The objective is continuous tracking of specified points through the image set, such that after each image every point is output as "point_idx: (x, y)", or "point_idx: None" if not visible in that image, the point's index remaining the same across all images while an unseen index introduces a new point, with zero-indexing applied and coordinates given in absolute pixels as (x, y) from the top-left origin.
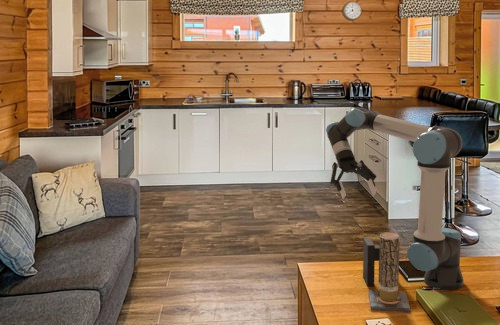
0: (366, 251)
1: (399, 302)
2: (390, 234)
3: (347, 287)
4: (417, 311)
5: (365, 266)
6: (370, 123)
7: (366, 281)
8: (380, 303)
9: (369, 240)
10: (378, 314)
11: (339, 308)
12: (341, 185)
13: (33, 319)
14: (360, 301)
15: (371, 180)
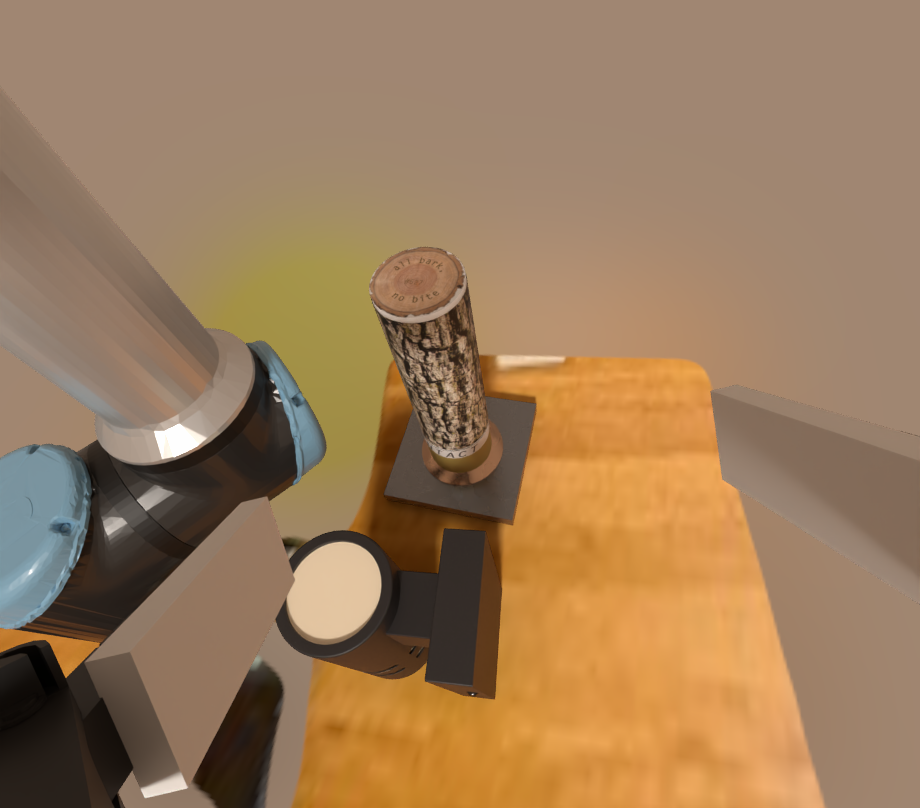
0: (487, 579)
1: None
2: (406, 290)
3: (588, 593)
4: (400, 397)
5: (493, 622)
6: None
7: (499, 604)
8: (499, 418)
9: (446, 623)
10: (519, 385)
11: (638, 424)
12: (865, 425)
13: None
14: (557, 467)
15: (124, 628)
